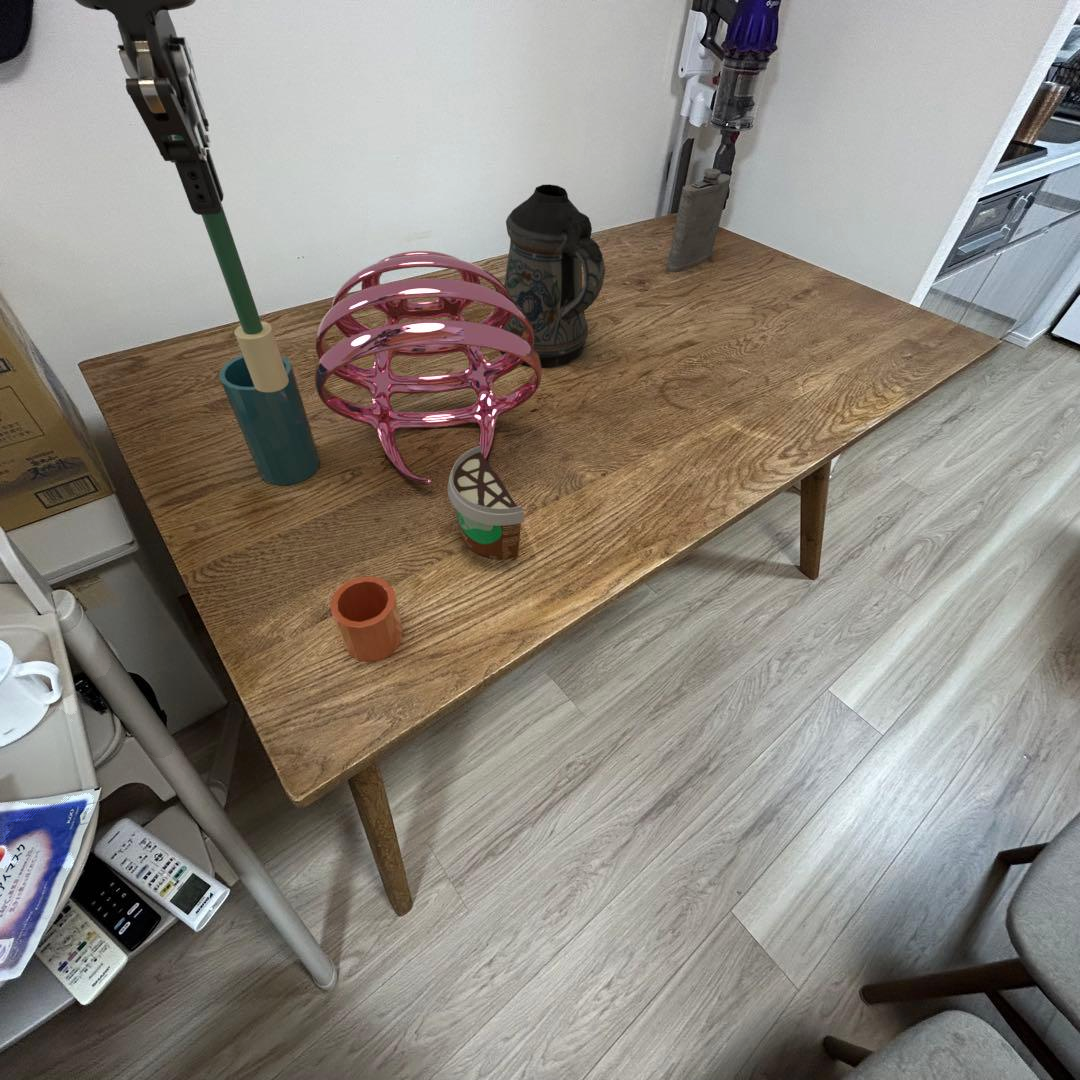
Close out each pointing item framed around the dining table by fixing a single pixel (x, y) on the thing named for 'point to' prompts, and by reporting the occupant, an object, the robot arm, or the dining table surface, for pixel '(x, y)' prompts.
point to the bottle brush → (246, 309)
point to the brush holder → (367, 618)
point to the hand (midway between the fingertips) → (209, 206)
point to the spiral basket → (424, 348)
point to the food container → (484, 508)
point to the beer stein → (552, 273)
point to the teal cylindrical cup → (272, 425)
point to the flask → (698, 220)
